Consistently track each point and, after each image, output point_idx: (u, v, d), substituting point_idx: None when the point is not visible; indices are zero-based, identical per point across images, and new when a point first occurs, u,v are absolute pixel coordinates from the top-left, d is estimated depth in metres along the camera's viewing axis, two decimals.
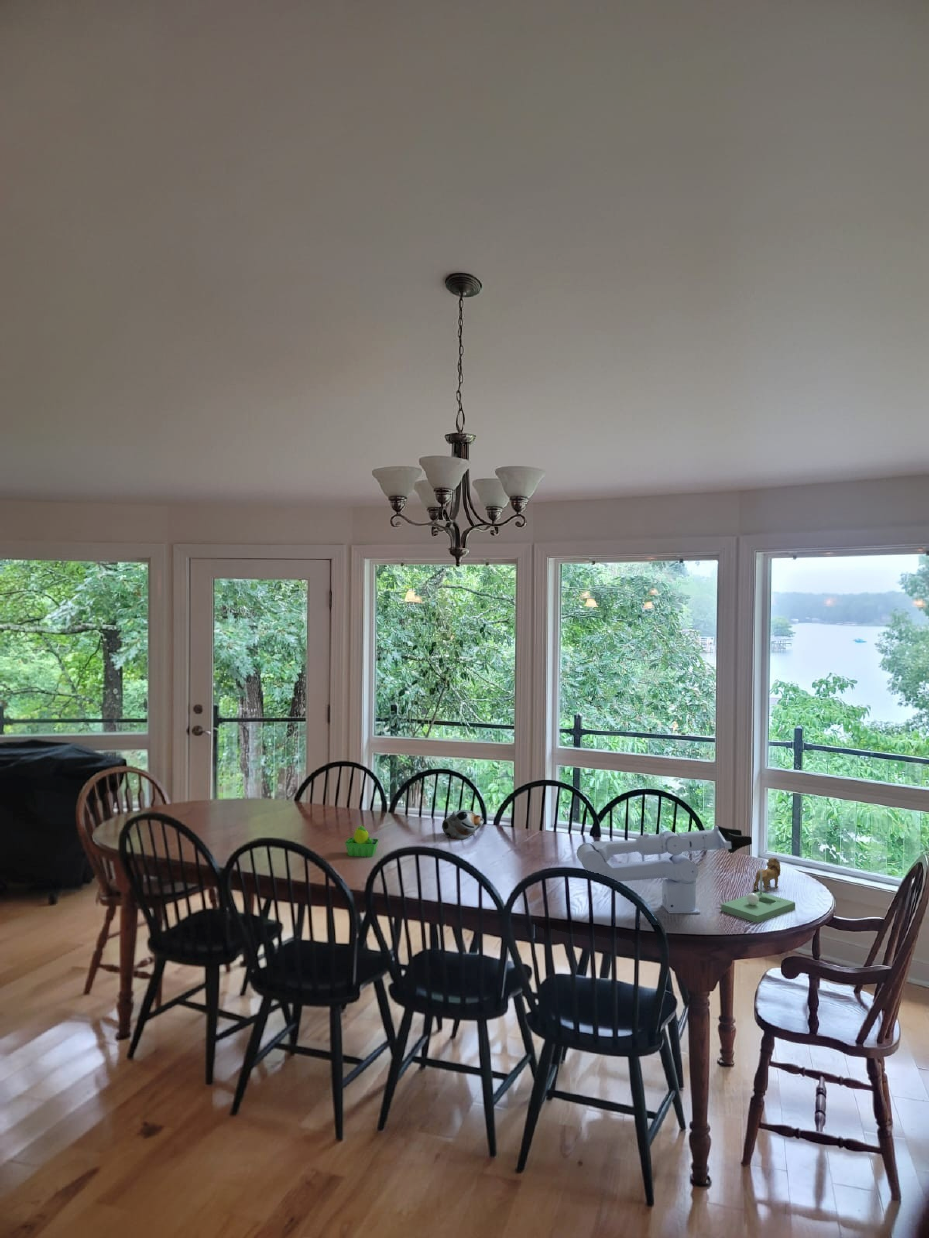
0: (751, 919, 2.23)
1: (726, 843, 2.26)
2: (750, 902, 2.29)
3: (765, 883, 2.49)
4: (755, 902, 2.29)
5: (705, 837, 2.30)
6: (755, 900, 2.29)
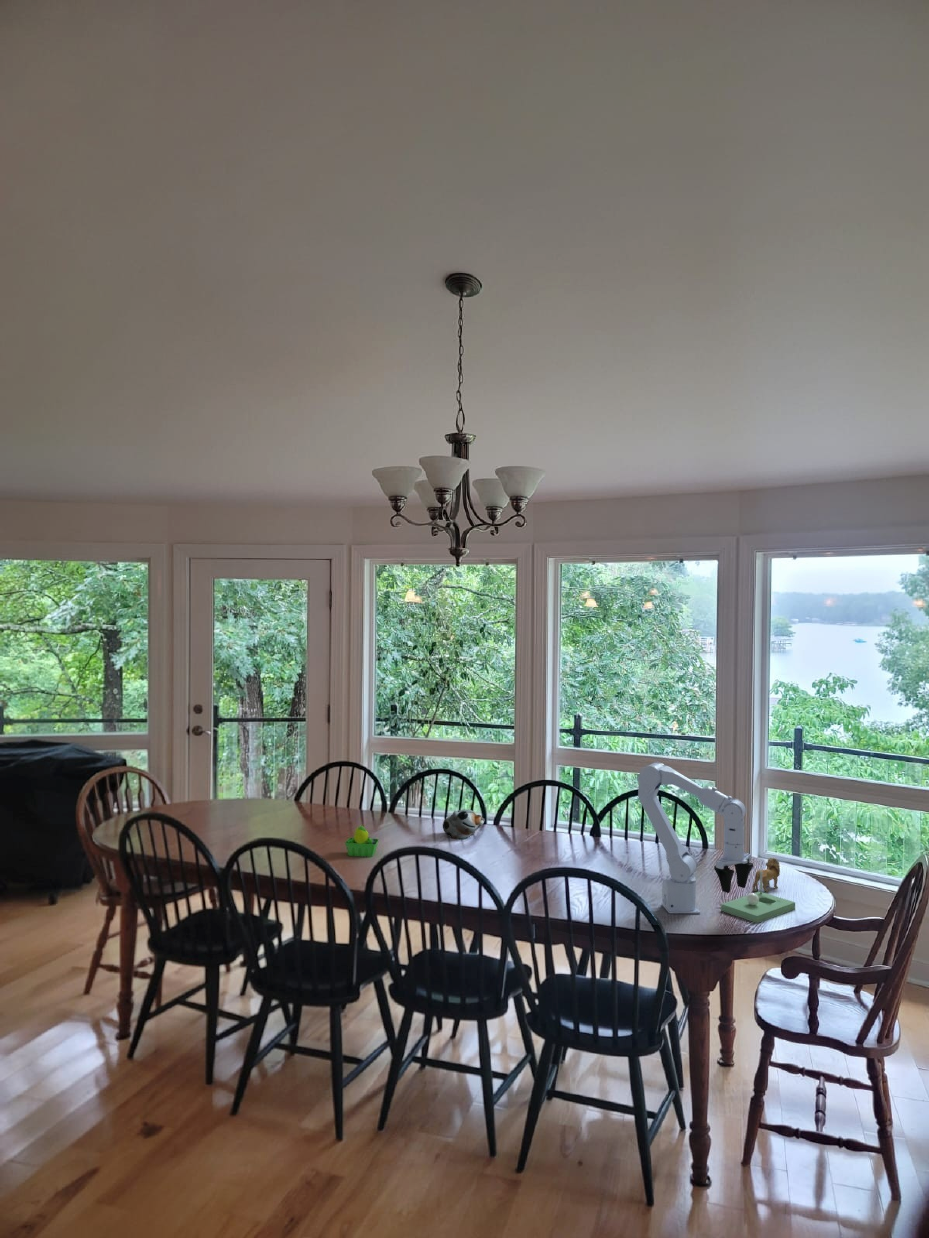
0: (751, 919, 2.23)
1: (720, 864, 2.20)
2: (750, 902, 2.29)
3: (764, 883, 2.49)
4: (755, 902, 2.29)
5: (733, 846, 2.23)
6: (755, 900, 2.29)
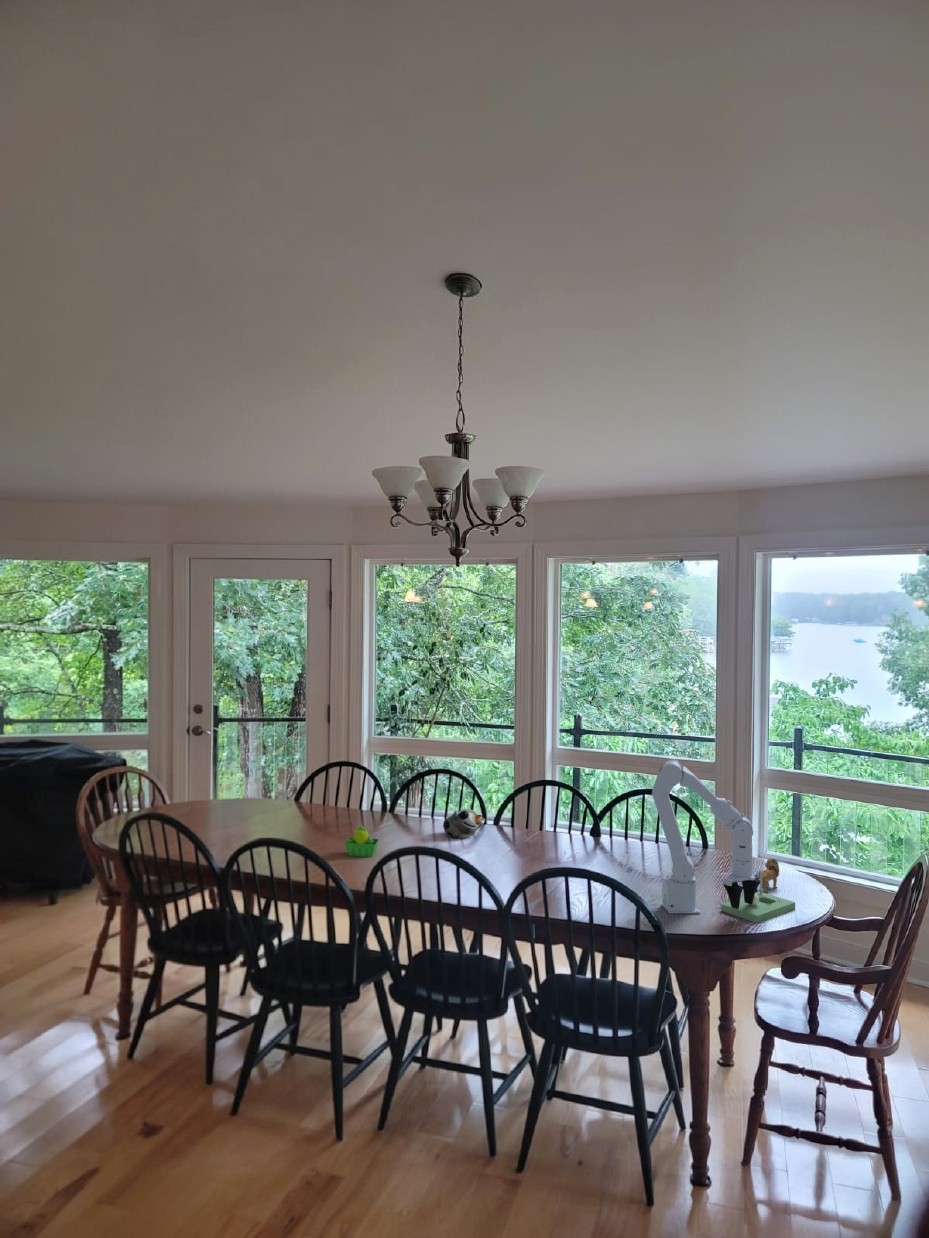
0: (751, 919, 2.23)
1: (729, 880, 2.23)
2: None
3: (764, 884, 2.48)
4: (755, 902, 2.29)
5: (741, 863, 2.25)
6: (755, 900, 2.29)
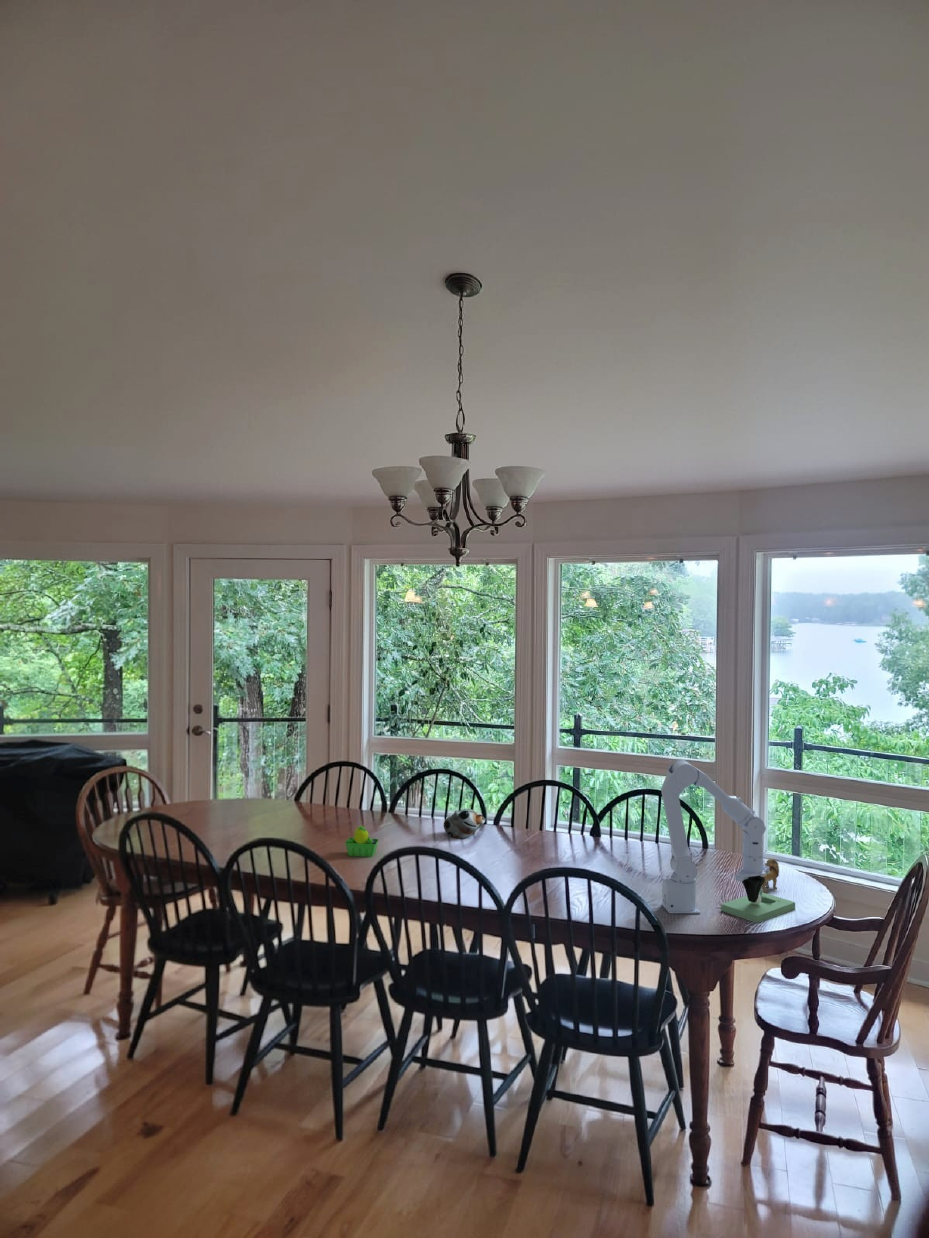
0: (751, 919, 2.23)
1: (740, 876, 2.26)
2: None
3: (763, 884, 2.48)
4: (757, 900, 2.30)
5: (752, 859, 2.28)
6: (758, 898, 2.30)
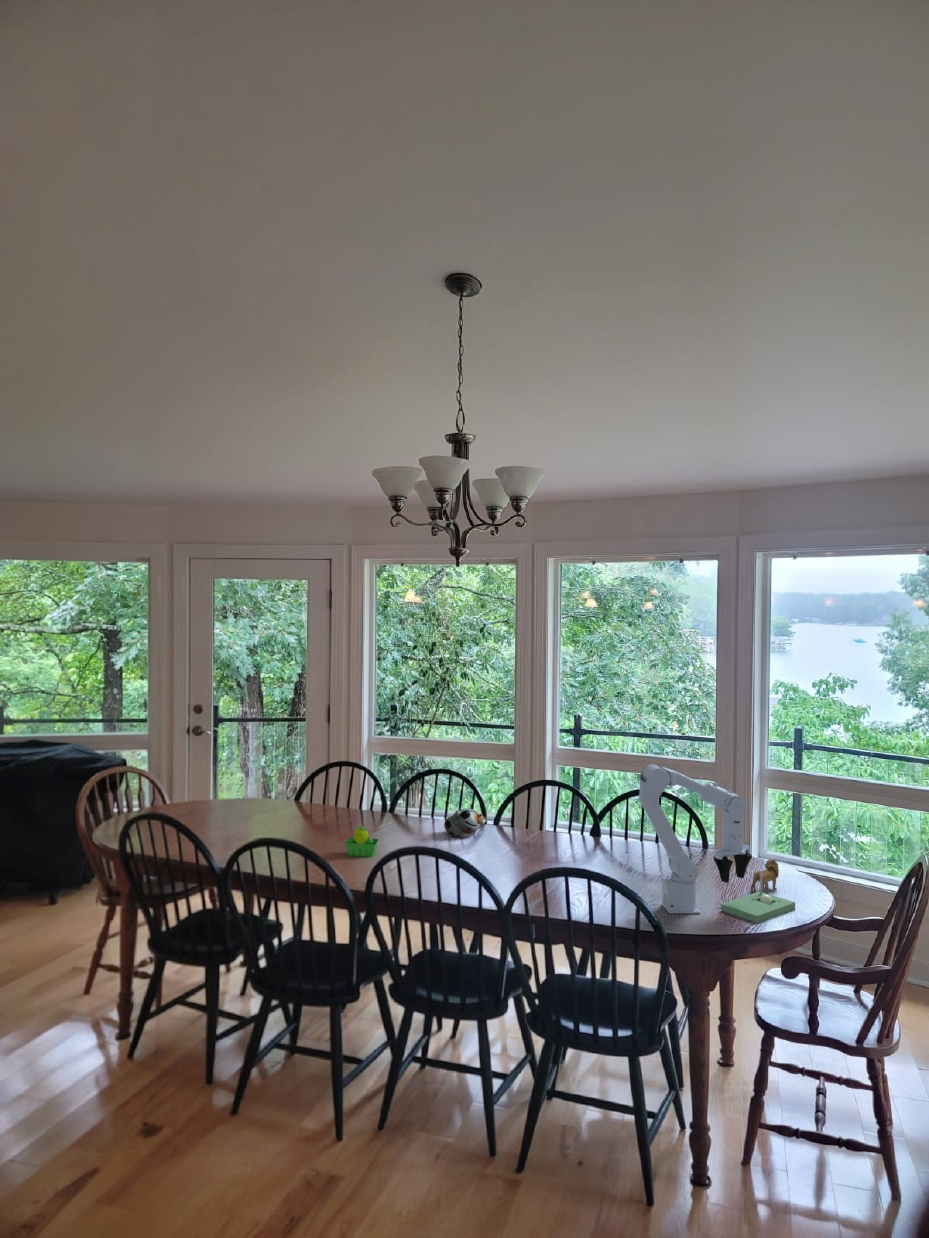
0: (751, 919, 2.23)
1: (719, 854, 2.28)
2: None
3: (762, 885, 2.47)
4: None
5: (732, 837, 2.30)
6: None
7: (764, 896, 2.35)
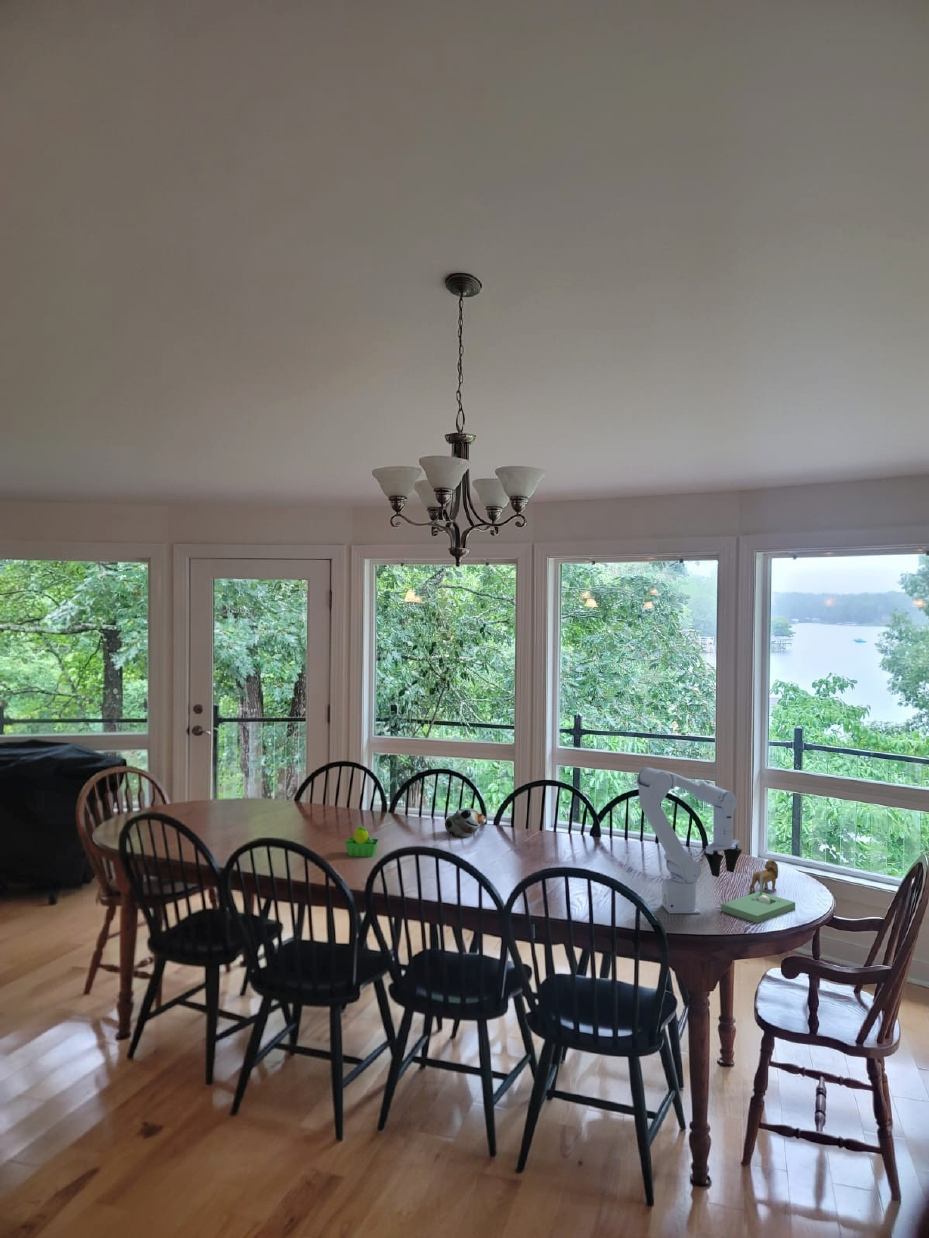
0: (751, 919, 2.23)
1: (710, 849, 2.32)
2: None
3: None
4: None
5: (722, 832, 2.34)
6: None
7: (761, 900, 2.34)
